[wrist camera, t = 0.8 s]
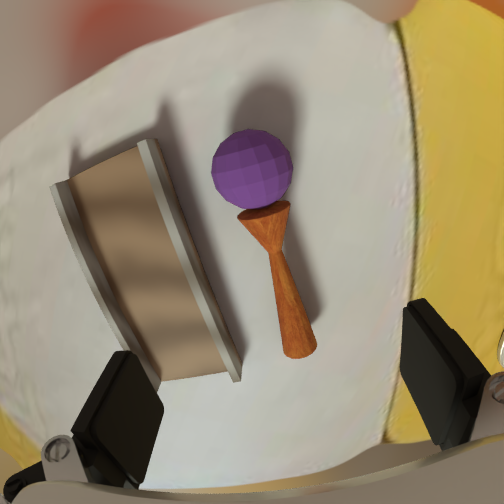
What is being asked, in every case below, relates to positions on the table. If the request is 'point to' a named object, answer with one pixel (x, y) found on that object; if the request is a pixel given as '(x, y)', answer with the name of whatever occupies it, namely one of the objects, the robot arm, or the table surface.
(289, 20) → the table surface
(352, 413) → the table surface
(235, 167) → the kendama
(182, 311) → the rail cradle
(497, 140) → the table surface
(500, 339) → the robot arm
